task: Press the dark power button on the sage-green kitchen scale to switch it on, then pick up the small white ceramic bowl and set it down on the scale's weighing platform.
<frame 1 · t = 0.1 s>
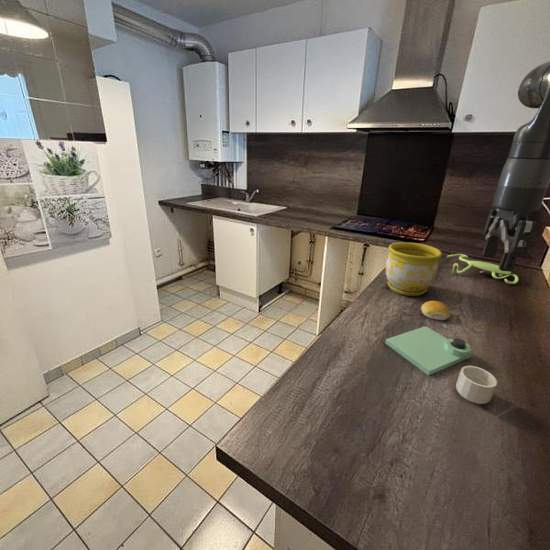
hand: (495, 263, 62), 28 cm above the worktop, tool pointing down, fingers open, 8 cm apart
scale: (426, 350, 79), on the worktop
bread roll: (434, 314, 96), on the worktop
bowl: (472, 393, 65), on the worktop
figurine: (476, 273, 130), on the worktop
power button: (458, 343, 76), point 3 cm above the worktop, slide at 0.1 cm
flowerpot: (406, 289, 114), on the worktop
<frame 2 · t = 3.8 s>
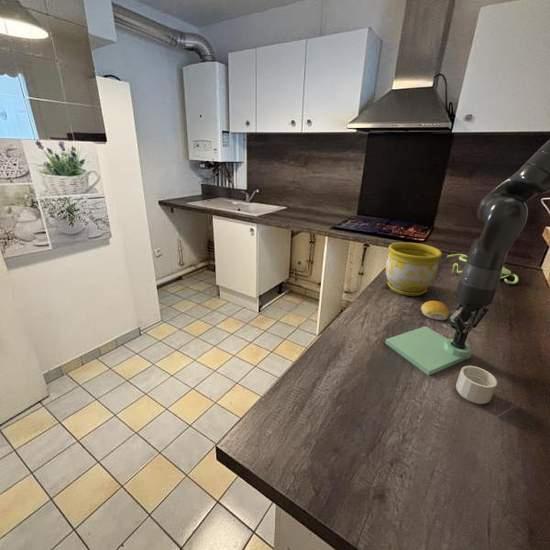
hand: (458, 342, 75), 4 cm above the worktop, tool pointing down, fingers closed
power button: (458, 344, 76), point 3 cm above the worktop, slide at -0.2 cm, touching gripper
everything else where it was.
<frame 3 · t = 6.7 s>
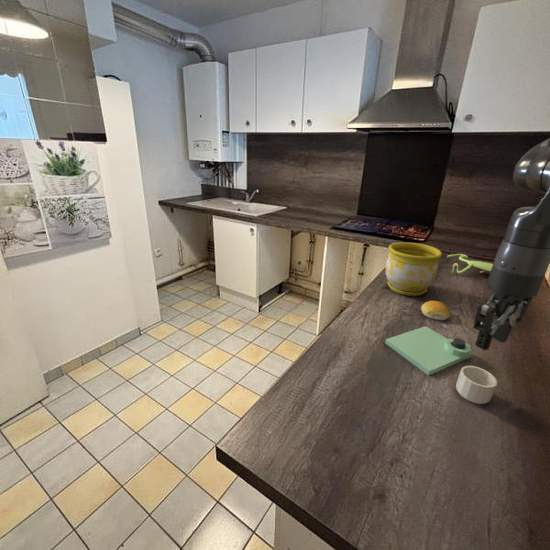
hand: (490, 343, 59), 13 cm above the worktop, tool pointing down, fingers open, 5 cm apart
power button: (458, 343, 76), point 3 cm above the worktop, slide at 0.1 cm
everything else where it was.
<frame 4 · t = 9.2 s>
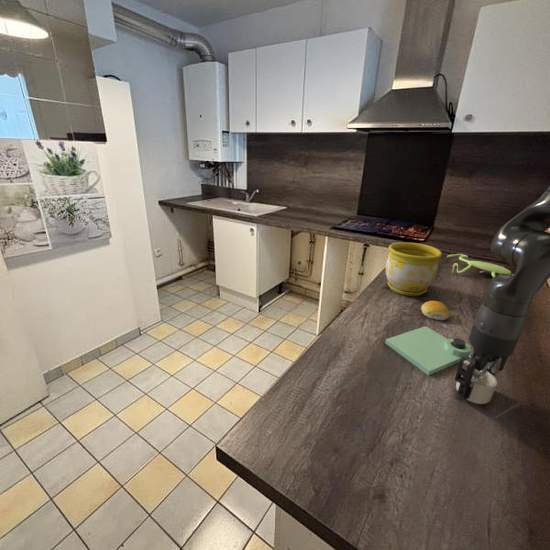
hand: (473, 390, 64), 1 cm above the worktop, tool pointing down, fingers closed on bowl, 6 cm apart
bowl: (472, 393, 65), on the worktop, touching gripper
everything else where it was.
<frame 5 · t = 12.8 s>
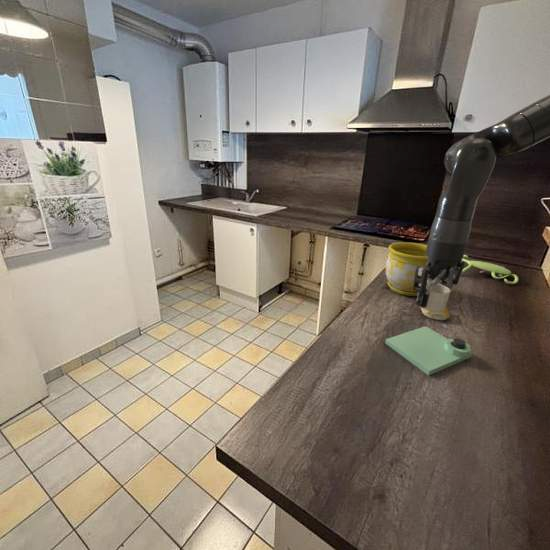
hand: (431, 303, 71), 15 cm above the worktop, tool pointing down, fingers closed on bowl, 6 cm apart
bowl: (430, 306, 71), point 14 cm above the worktop, touching gripper
everything else where it was.
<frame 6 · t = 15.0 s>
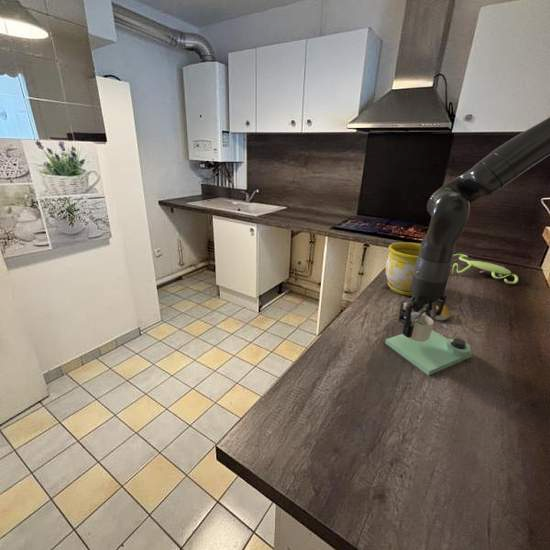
hand: (416, 332, 77), 5 cm above the worktop, tool pointing down, fingers closed on bowl, 6 cm apart
bowl: (415, 335, 77), point 5 cm above the worktop, touching gripper
everything else where it was.
when the fingers open (2 cm above the worktop, at t = 16.6 s): bowl stays where it is, resting on scale.
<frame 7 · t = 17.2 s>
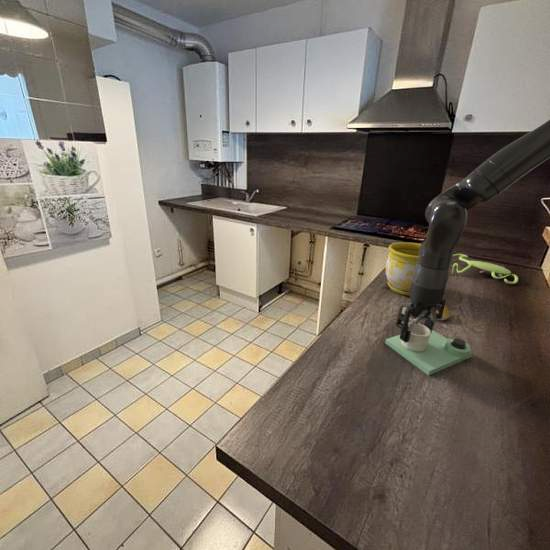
hand: (415, 336, 77), 4 cm above the worktop, tool pointing down, fingers open, 8 cm apart
bowl: (413, 344, 78), point 1 cm above the worktop, touching scale
everything else where it was.
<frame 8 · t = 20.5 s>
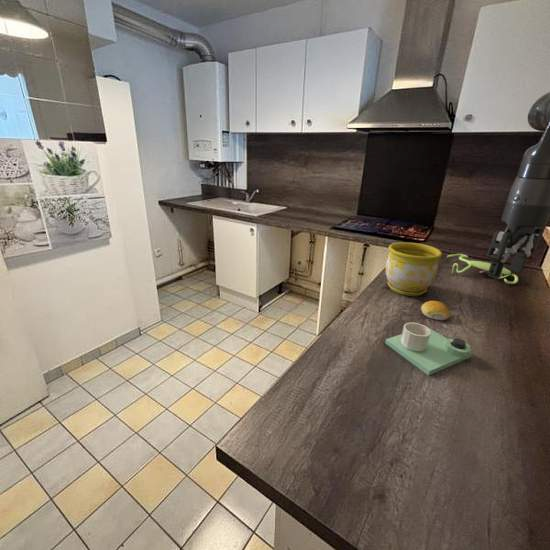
hand: (504, 274, 66), 24 cm above the worktop, tool pointing down, fingers open, 8 cm apart
nothing on the worktop moved.
at the end: power button pushed in 0.9 cm at the most during the clip, back to where it started at the end; bowl inside the target area on the scale (3.4 cm from its centre), point 1.4 cm above the scale's base; bowl touching scale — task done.
